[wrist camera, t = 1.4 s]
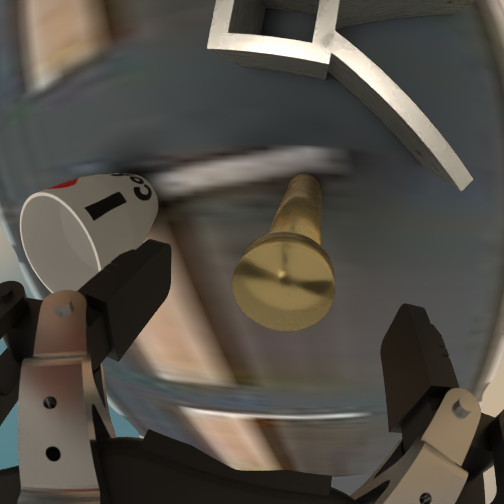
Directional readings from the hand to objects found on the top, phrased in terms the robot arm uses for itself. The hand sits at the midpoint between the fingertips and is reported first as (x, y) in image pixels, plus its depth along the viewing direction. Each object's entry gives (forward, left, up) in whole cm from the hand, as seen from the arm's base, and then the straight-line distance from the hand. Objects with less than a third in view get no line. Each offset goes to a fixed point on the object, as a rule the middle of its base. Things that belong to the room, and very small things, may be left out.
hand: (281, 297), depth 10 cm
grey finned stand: (-11, +1, -13) cm, 17 cm away
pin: (0, 0, -13) cm, 13 cm away
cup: (+4, -14, -13) cm, 20 cm away
